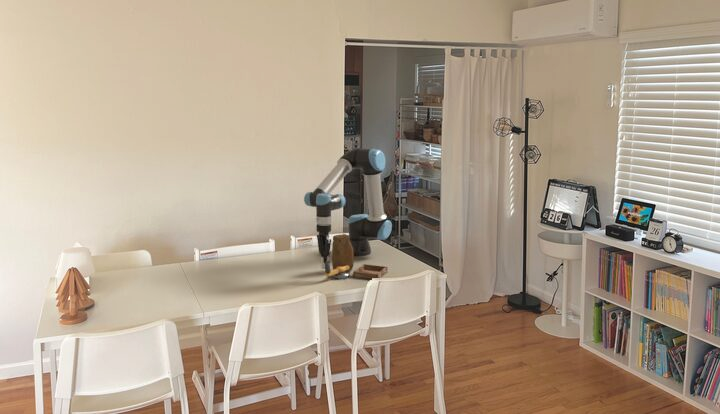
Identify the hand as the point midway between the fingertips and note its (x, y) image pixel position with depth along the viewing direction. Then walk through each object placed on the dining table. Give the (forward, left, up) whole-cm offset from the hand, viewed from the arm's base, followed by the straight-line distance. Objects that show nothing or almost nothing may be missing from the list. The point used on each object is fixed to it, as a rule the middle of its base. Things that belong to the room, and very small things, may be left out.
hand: (324, 268), depth 322 cm
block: (-17, +3, -6) cm, 19 cm away
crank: (-5, +5, -3) cm, 8 cm away
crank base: (-7, +6, -6) cm, 11 cm away
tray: (-16, +20, -6) cm, 26 cm away
